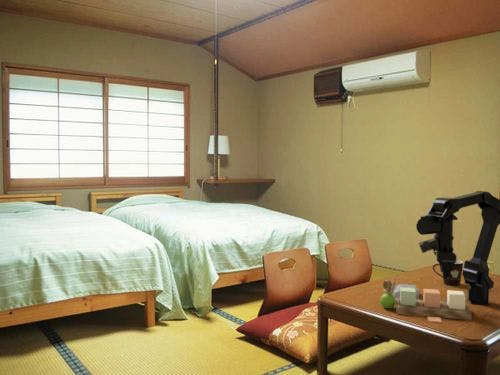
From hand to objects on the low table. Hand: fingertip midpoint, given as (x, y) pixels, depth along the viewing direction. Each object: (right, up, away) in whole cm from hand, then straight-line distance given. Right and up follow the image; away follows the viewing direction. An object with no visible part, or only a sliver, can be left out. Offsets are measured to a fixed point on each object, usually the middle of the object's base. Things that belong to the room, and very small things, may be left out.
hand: (443, 275), depth 162 cm
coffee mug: (+16, -10, +33) cm, 38 cm away
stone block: (-9, -12, +16) cm, 22 cm away
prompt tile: (-8, -13, -12) cm, 19 cm away
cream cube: (+2, -10, -6) cm, 12 cm away
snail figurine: (-20, -12, +1) cm, 23 cm away
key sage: (-14, -10, -1) cm, 17 cm away
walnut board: (-6, -12, -3) cm, 14 cm away
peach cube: (-6, -10, -3) cm, 12 cm away
